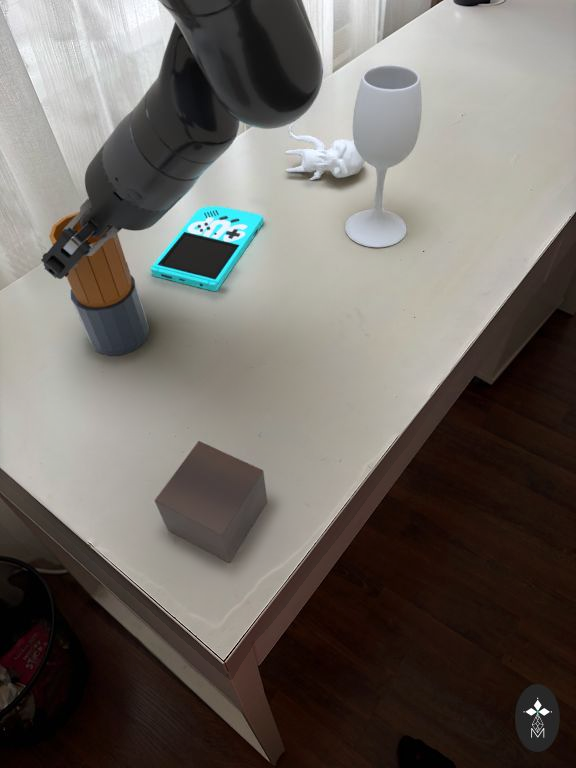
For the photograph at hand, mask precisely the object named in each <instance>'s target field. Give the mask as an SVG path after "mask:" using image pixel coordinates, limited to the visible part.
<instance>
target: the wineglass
mask: <svg viewBox="0 0 576 768" xmlns="http://www.w3.org/2000/svg"><path fill="white" fill-rule="evenodd" d="M421 85H422V83H421V77H420V75H419V73H418V72H417V71H415V70H414V69H412V68H410V67H408V66H404V65H398V64H383V65H376V66H373V67H371V68H368V69H367V70H365V72H363V74H362V77H361V79H360V82H359V86H358V90H357V93H356V98H355V102H354V108H353V116H352V140H354V145H355V147H356V150H357V152H358V153H359V155H360V156H361V157H362V158H363V159H364V160H365V163H367V164H368V165H370V166H372V167H374V168H375V170H376V187H375V196H374V202H373V203H374V204H373V208H372V209H371V208H370V209H365V210H361V211H359V212H356V213H354V214H353V215H351V216H350V217H349V218H348V219H347V221H346V223H345V225H344V230H345V233H346V234H347V236H348V237H349V239H350V240H352V241H353V242H355V243H356V244H358V245H360V246H363V247H369V248H385V247H390V246H393V245H396V244H398V243H400V241H402V240H403V239H404V237H405V236H406V235H407V231H408V227H407V224H406V222H405V220H404V219H403V218H402V217H401V216H399V215H398V214H395V212H391V211H389V210H385V209H383V196H384V187H385V180H386V175H387V171H388V170H389V169H390V168H392V167H395V166H397V165H400V163H402V162H403V161H405V160H406V159H407V158H408V156H409V155H410V154H411V153H412V152H413V150H414V148H415V146H416V144H417V141H418V138H419V134H420V130H421V129H420V128H421V123H422V109H423V108H422V107H423V103H422V102H423V101H422V99H423V98H422V86H421Z"/></svg>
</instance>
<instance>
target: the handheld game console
mask: <svg viewBox="0 0 576 768" xmlns="http://www.w3.org/2000/svg"><path fill="white" fill-rule="evenodd" d="M263 224H264V216H263V215H262V214H258V213H253V212H249V211H244V210H240V209H235V208H230V207H226V206H219V205H218V206H217V205H211V206H203V207H201V208H198V209H197V210H196V211H195V213H194V214H193V215H192V216H191V217H190V218H189V220H188V221H187V222H186V223H185V225H184V226H183V227H182V229H181V230H180V231H179V232H178V234H177V235H176V236H175V237H174V238H173V239H172V241H171V242H170V243H169V244H168V246H167V247H166V248H165V249H164V251H163V252H162V253H161V254H160V255H159V256H158V258H157V259H156V260H155V262H153V264H152V265H151V266H150V272H151V274H152V276H153V277H156V278H160V279H164V280H168V281H172V282H176V283H179V284H184V285H188V286H191V287H195V288H199V289H203V290H207V291H211V292H217V291H218V290H219V289H220V287H221V286H222V285H223V284H224V282H225V280H226V278H227V277H228V276H229V274H230V273H231V272H232V270H233V268H234V267H235V265H236V264H237V262H238V261H239V260H240V258H241V257H242V255H243V254H244V252H245V250H247V248H248V247H249V245H250V243H252V241H253V239H254V237H255V236H256V234H257V233H258V231H259V230H260V229H261V227H262V226H263Z"/></svg>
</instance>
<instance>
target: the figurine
mask: <svg viewBox="0 0 576 768" xmlns="http://www.w3.org/2000/svg"><path fill="white" fill-rule="evenodd" d="M294 124H295V123H291V124H289V126H288V129H287V132H288V135H289V137H290V138H291V139H293V140H295V141H297V142H304V143H308V144H310V145H312V146H313V147H314V148H304V147H303V148H297V149H291V150H286V151H284V154H285V155H293V156H299V157H301V158H300V162H301V165H299V166H296V167H290V168H286V170H285V172H286V173H312V172H314V174H313V176H312V177H310V178H309V181H315V180H319V179H321V177H322V174H324V173H325V171H330V172H331V174H332V176H334V178H337V179H339V178H346V177H350V176H353V175H355V176H356V175H357V174H358V173H359V172H360V171H361V170H362V168H363V167H364V164H365V163H366V161H365V160H364V159H363V158H362V157H361V156H360V155H359V153H358V152H357V150H356V147H355V145H354V140H353V139H352V140H350V139H342V138H341V139H336V140H334V141H333V142H332V143H331V144H330V147H329V149H326V146H325V144H324V142H322V141H321V139H318V138H316V137H314V136H313V135H307V134H306V135H295V134H294V133H293V130H292V128H293V126H294Z"/></svg>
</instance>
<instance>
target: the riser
mask: <svg viewBox="0 0 576 768" xmlns="http://www.w3.org/2000/svg"><path fill="white" fill-rule="evenodd" d="M154 503H155V505H156V507H157V510H158V512H159V514H160V516H161V519H162V521H163V523H164V525H165V528H166V530H167V531H168V532H170V533H172V534H174V535H176V536H177V537H179V538H182V539H183V540H186V541H187V542H189V543H190V544H193V545H195V546H197V547H198V548H201V549H202V550H204V551H206V552H208V553H210V554H212V555H214V556H215V557H217V558H219V559H221V560H223V561H225V562H227V563H229V564H230V563H231V562H232V560H233V559H234V557H235V555H236V554H237V552H238V551H239V549H240V547H241V546H242V544H243V542H244V541H245V539H246V537H247V535H248V534H249V532H250V531H251V529H252V528H253V526H254V524H255V523H256V521H257V519H258V518H259V516H260V514H261V513H262V511H263V510H264V508H265V506H266V505H267V503H268V496H267V488H266V479H265V473H264V470H263V469H261V468H260V467H257V466H255V465H252V464H250V463H248V462H247V461H244V460H242V459H239V458H237V457H235V456H233V455H230V454H229V453H226V452H225V451H223V450H220V449H217V448H216V447H213V446H211V445H209V444H207V443H204V442H202V441H200V440H198V441H197V443H196V444H195V445H194V446H193V448H192V449H191V451H190V452H189V453H188V454H187V456H186V457H185V459H183V462H182V463H181V464H180V466H179V467H178V468H177V470H175V472H174V474H173V475H172V476H171V477H170V479H169V480H168V481H167V482H166V484H165V486H164V487H163V488H162V489H161V491H160V492H159V494H158V495H157V496H156V498H155V499H154Z"/></svg>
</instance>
